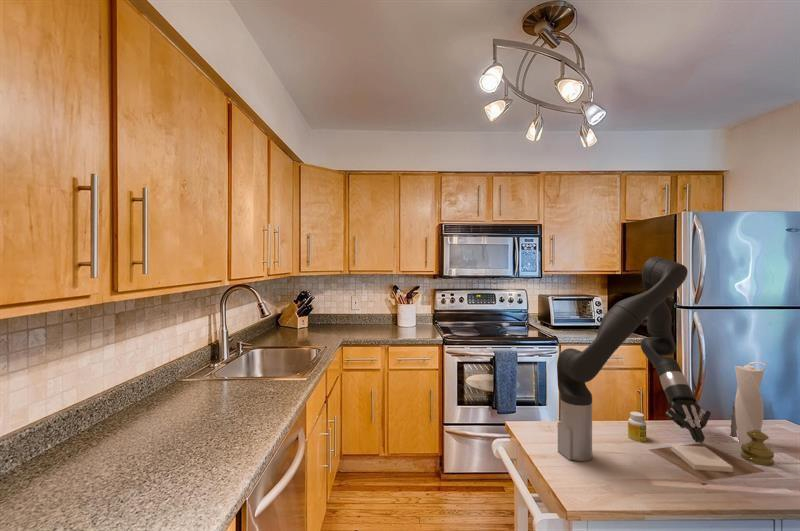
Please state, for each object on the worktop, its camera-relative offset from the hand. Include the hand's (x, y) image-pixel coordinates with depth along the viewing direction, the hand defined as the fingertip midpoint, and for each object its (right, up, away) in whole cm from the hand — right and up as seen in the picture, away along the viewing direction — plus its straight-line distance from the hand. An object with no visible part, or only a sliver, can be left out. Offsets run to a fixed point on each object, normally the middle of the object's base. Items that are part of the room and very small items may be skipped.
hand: (700, 441), depth 117 cm
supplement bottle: (-10, -7, +15) cm, 19 cm away
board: (+1, -7, 0) cm, 7 cm away
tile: (+1, -5, +6) cm, 8 cm away
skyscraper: (+27, -7, +14) cm, 31 cm away
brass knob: (+18, -7, 0) cm, 19 cm away
